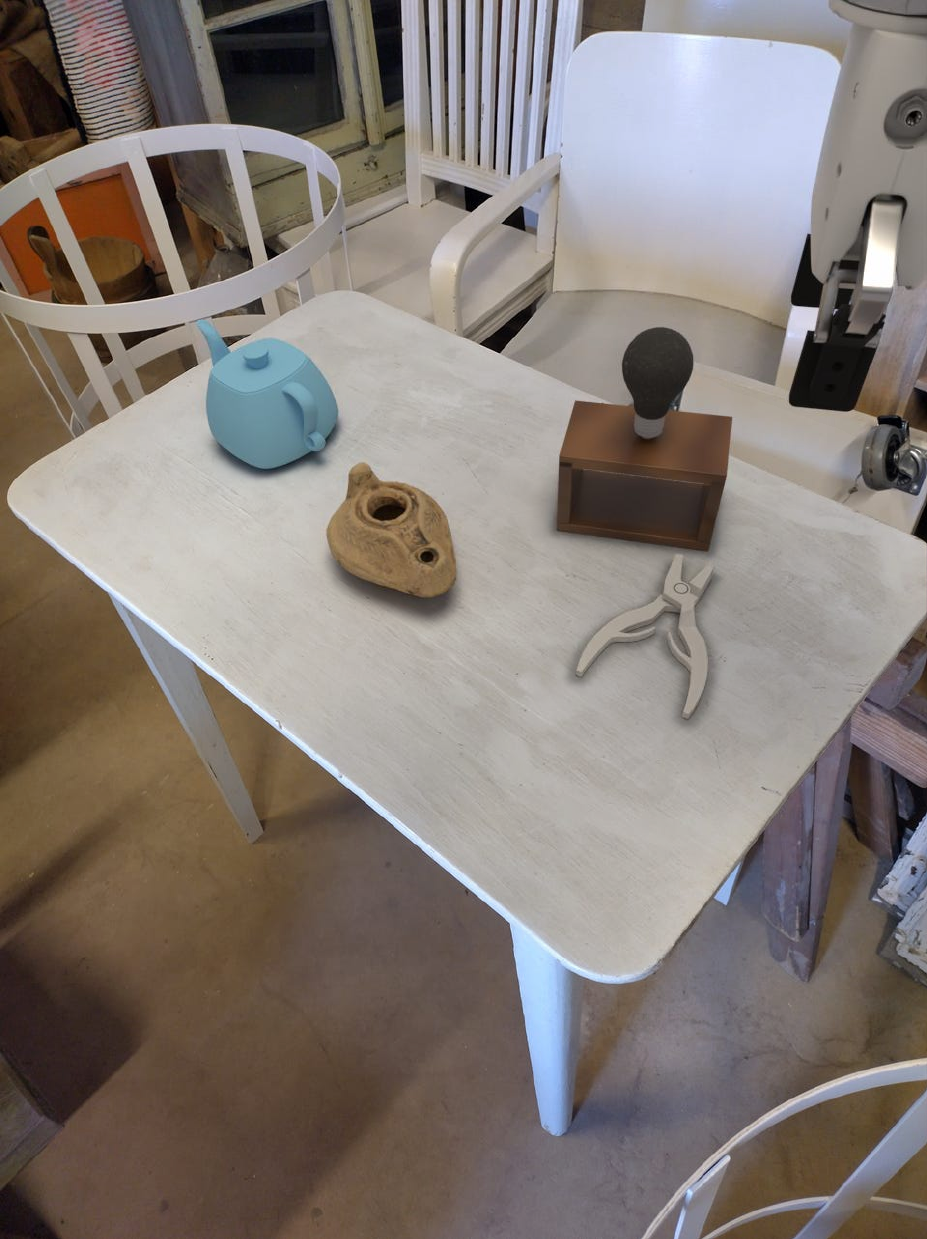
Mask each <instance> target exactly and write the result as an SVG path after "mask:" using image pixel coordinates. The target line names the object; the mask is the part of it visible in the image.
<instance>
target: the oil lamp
mask: <svg viewBox="0 0 927 1239" xmlns="http://www.w3.org/2000/svg"><path fill="white" fill-rule="evenodd" d="M347 475H348V478H347V479H348V480H347V491H346V494H345V499H344V500H343V502H342V503H341V504H340V506H339V507H338V509H336V511H335V512H334V514H332V516H331V518H330V520H329V522H328V524H327V527H326V529H325V530H326V531H325V534H326V539H327V543H328V547H329V549H330V552H331V555H332V557H333V558H334V559H335V561H336V562H337V563H338V564H339V565H340V566H341V567H342V568H343V569H345V571H347V572H349V573H350V574H352V575H354V576H356V577H358V578H359V579H362V580H364V581H368V582H371V583H373V584H376V585H379V586H383V587H385V588H386V587H387V588H389V589H393V590H396V591H399V592H402V593H405V594H409V595H413V596H417V597H421V598H432V597H436V596H440V595H442V594H445V593H446V592H448V591H449V590H450V589H451V588H452V587H453V585H454V584H455V582H456V581H457V561H456V554H455V548H454V543H453V539H452V535H451V529H450V524H449V520H448V518H447V517H448V516H447V514H446V513H445V511H444V510H443V509H442V507H441V506H440V505H439V503H438V502H437V501H436V500H435V499H434V498H433V497H432V496H430V495H429V494H428V493H427V492H426V491H423V490H421V489H420V488H419V487H415V486H414V485H410V484H409V483H406V482H400V481H397V480H396V481H395V480H394V481H392V480H391V481H383V480H380V479H379V478H378V476H377V475H376V474H375V472H374V471H373V470H372V468H371V467H370V465H369V464H368V463H366V462H364V461H361V462H359V463H356V464H355V465H354V466H352V467H351V469H350V470H349V472H348V474H347Z"/></svg>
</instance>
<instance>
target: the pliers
mask: <svg viewBox="0 0 927 1239" xmlns="http://www.w3.org/2000/svg"><path fill="white" fill-rule="evenodd" d="M683 560H684V554H681V553H680V554H679V553H676V554H675V556H674V558H673V560H672V563H671V565H670V568H669V570H668V572H667V574H666V577H665V578H664V584H663V592H662V594H659V595H658V596H657V598H655V599H654V601H652V602H650V603H648V604H646V605H643V606H642V607H639V608H635V609H631V610H627V611H625V612H624V613H621V614H619V615H618V616H615V617H614V618H613V619H611V620H610V621H608V623H606V624H605V625H604V626H602V627H601V628H600V629H599V630H598V631H597V632H596V633H595V634H594V636H593V637H592V638H591V639H590V641H588V643H587V645H586V646H585V648H584V650H583V651H582V653H581V656H580V658H579V661H578V663H577V667H576V671H575V676H577V677H580V678H582V677H583V676H584V674H585V673H586V672H587V670H588V669H589V667H590V666H591V665H592V664H593V662H594V661H595V660H596V659H597V657H598V656H599V655H600V654H601V653H602V652H603V651H604V650H605V649H606V648H607V647H608V646H609V645H611V644H614V643H634V642H639V641H642V640H644V639H647V638H649V637H651V636H653V635H655V634H656V630H657V628H656V627H655V626H651V627H650V628H648V629H645V630H643V631H639V632H633V633H629V632H631V631H633V630H636V629H639V628H641V627H645V626H647V625H652V624H653V623H654V622H655V621H656V620H658V618H659V617H660V616H661V615H662V614H663V613H664V612H666V613H667V612H669V613H675V614H676V613H677V614H679V619H678V624H677V634H678V636H679V638H680V640H681V642H682V644H683V646H684V648H685V651H686V652H687V655H686V654H685V653H683V652H682V651H681V650H680V649H679V647H678V646H677V644H676V643H675V641H674V639H673V635H672V632H670V631H669V632H667V635H666V640H667V644H668V645H667V646H668V647H669V650H670V652H671V654H672V655H673V656H674V658H675V659H676V660H677V661H678V662H679V663H680V664H681V665H683V666H684V667H685V668H686V669H687V670H688V671H689V673H690V674H689V685H688V691H687V697H686V700H685V705H684V708H683V710H682V714H681V717H682V718H683V719H686V720H688V719H689V718H690V717H691V715H692V714H693V713H694V711H695V709H696V708H697V706H698V704H699V703H700V700H701V697H702V695H703V693H704V689H705V686H706V681H707V677H708V668H709V667H708V666H709V665H708V651H707V646H706V642H705V640H704V637H703V636H702V634H701V633H700V631H699V629H698V627H697V626H696V614H695V606H696V605H697V604H698V602H699V601H700V599H701V597H702V596H703V594H704V592H705V590H706V589H707V586H708V585H709V584H710V581H711V580H712V577H713V574H714V569H715V566H713V565H711V564H709V563H707V564H706V565H705V566H704V567H703V568H702V569H701V570H700V571H699V572H698V573H697V574H696V575H695V576H694V577H693V578H692V579H691V580H690V581H689V582H688V583H686V582H684V581H683V580H682V579H681V577H682V570H683V569H682V568H683Z"/></svg>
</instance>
